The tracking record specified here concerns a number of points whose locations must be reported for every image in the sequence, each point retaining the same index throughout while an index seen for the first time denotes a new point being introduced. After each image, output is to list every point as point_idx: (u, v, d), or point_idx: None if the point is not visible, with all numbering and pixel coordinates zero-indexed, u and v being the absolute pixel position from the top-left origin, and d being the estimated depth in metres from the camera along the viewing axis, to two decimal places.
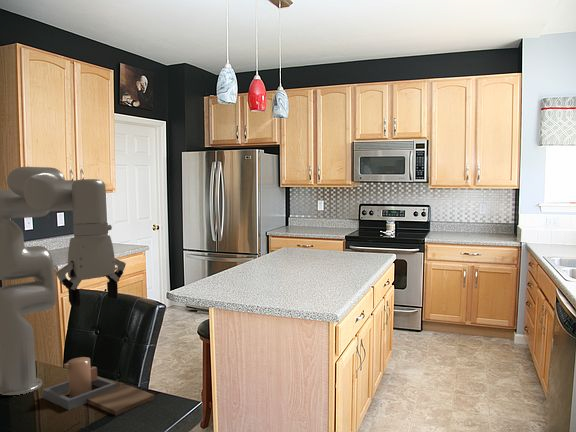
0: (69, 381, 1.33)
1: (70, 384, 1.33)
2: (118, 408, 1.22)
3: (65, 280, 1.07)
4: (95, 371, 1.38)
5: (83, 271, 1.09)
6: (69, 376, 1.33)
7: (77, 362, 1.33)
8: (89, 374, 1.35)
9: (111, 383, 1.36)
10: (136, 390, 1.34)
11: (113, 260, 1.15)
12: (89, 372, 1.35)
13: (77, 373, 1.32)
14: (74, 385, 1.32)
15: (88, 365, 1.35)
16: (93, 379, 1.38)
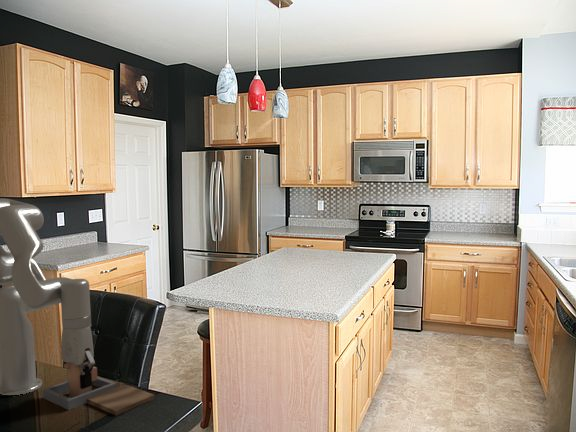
0: (69, 381, 1.33)
1: (70, 384, 1.33)
2: (118, 408, 1.22)
3: None
4: (95, 371, 1.38)
5: None
6: (69, 376, 1.33)
7: None
8: None
9: (111, 383, 1.36)
10: (136, 390, 1.34)
11: None
12: None
13: (77, 373, 1.32)
14: (74, 385, 1.32)
15: None
16: (93, 379, 1.38)
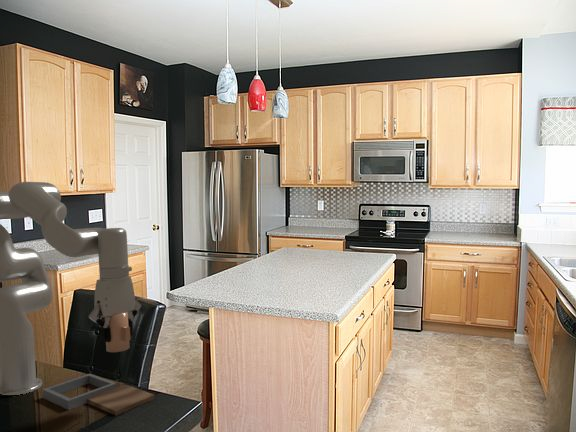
0: None
1: None
2: (118, 408, 1.22)
3: (98, 320, 1.24)
4: (124, 331, 1.26)
5: (108, 309, 1.25)
6: None
7: None
8: (112, 330, 1.26)
9: (111, 383, 1.36)
10: (136, 390, 1.34)
11: (133, 298, 1.31)
12: (112, 328, 1.26)
13: None
14: None
15: (110, 320, 1.26)
16: (123, 339, 1.27)
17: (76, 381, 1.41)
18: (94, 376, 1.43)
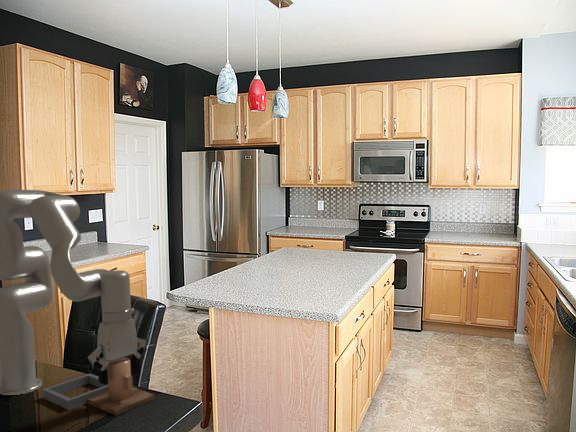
0: None
1: None
2: (118, 408, 1.22)
3: (96, 363, 1.23)
4: (126, 381, 1.26)
5: (111, 354, 1.25)
6: None
7: (112, 361, 1.29)
8: (114, 379, 1.27)
9: None
10: (136, 390, 1.34)
11: (136, 340, 1.32)
12: (114, 377, 1.27)
13: None
14: None
15: (113, 369, 1.27)
16: (125, 388, 1.27)
17: (76, 381, 1.41)
18: (94, 376, 1.43)
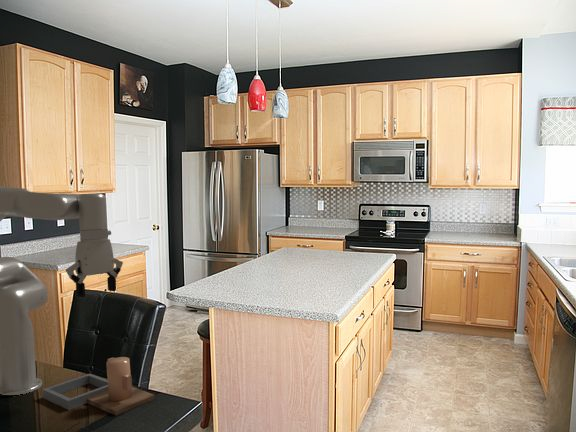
0: None
1: None
2: (118, 408, 1.22)
3: (73, 276, 1.32)
4: (125, 380, 1.26)
5: (88, 268, 1.34)
6: None
7: (111, 361, 1.29)
8: (114, 379, 1.27)
9: None
10: (136, 390, 1.34)
11: (112, 259, 1.40)
12: (114, 377, 1.27)
13: None
14: None
15: (112, 369, 1.27)
16: (124, 387, 1.27)
17: (76, 381, 1.41)
18: (94, 376, 1.43)
